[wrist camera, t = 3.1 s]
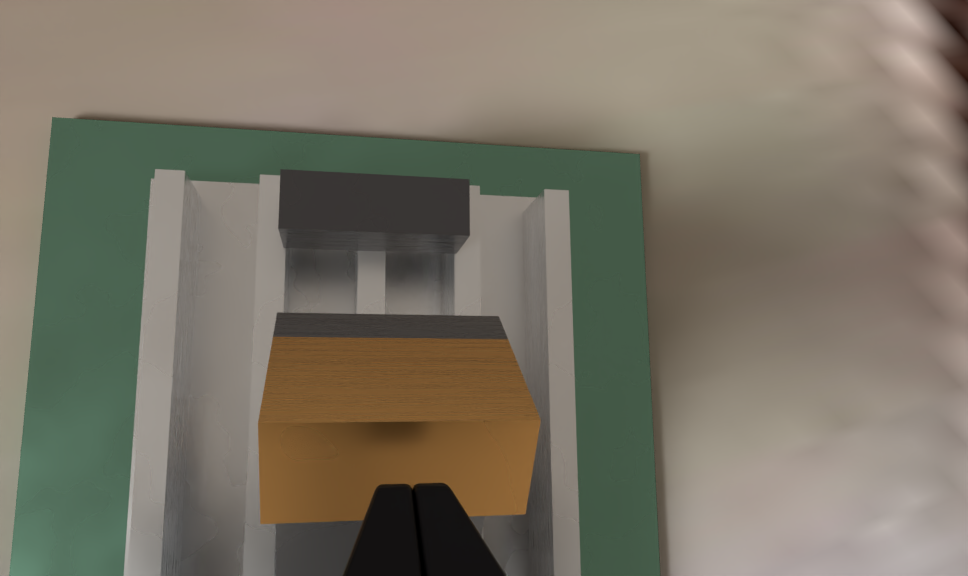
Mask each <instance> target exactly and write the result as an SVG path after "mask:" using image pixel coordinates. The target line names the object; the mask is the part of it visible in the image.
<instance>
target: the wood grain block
mask: <svg viewBox="0 0 968 576" xmlns="http://www.w3.org/2000/svg"><path fill="white" fill-rule="evenodd" d="M540 422H541V419H540V417H539V414H538V412H537V409H536V407H535V404H534V402H533V399H532V397H531V395H530V392H529V390H528V387H527V385H526V382H525V380H524V377H523V375H522V372H521V370H520V367H519V365H518V362H517V360H516V357H515V355H514V353H513V350H512V348H511V345H510V343H509V340H508V338H507V335H506V333H505V330H504V328H503V325H502V323H501V320H500V318H499V316H461V315H401V314H342V313H282V312H277V316H276V322H275V328H274V334H273V339H272V345H271V351H270V357H269V362H268V368H267V374H266V380H265V385H264V391H263V397H262V403H261V408H260V414H259V420H258V447H259V488H260V524H276V576H342V575H343V572H344V570H345V567H346V564H347V562H348V559H349V557H350V554H351V551H352V549H353V546H354V543H355V541H356V538H357V536H358V533H359V530H360V528H361V525H362V522H363V520H364V517H365V515H366V512H367V509H368V507H369V504H370V501H371V499H372V496H373V494H374V491H375V489H376V488H377V486H379V485H381V484H408V485H410V486H411V488H413V486H414V485H415V484H418V483H445V484H447V485H448V486H449V487H450V488H451V490H452V491H453V493H454V494H455V496H456V497H457V499H458V500H459V502H460V504H461V505H462V507H463V508H464V510H465V511H466V513H467V514H468V516H469V518H470V519H471V521H472V522H473V524H474V525H475V527H476V529H477V530H478V532H479V533H480V535H481V536H482V530H483V522H484V516H495V515H522V514H526V508H527V502H528V496H529V489H530V483H531V477H532V471H533V465H534V459H535V453H536V447H537V440H538V434H539V428H540Z"/></svg>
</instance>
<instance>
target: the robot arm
mask: <svg viewBox="0 0 968 576" xmlns="http://www.w3.org/2000/svg"><path fill="white" fill-rule="evenodd" d="M342 576H506V574H505V573H504V571H503V569H502V568H501V566H500V565H499V563H498V562H497V560H496V558H495V557H494V555H493V554H492V552H491V551H490V549H489V547H488V546H487V544H486V543H485V541H484V540H483V538H482V536H481V535H480V533H479V532H478V530H477V529H476V527H475V525H474V524H473V522H472V521H471V519H470V518H469V516H468V514H467V513H466V511H465V510H464V508H463V507H462V505H461V504H460V502H459V500H458V499H457V497H456V496H455V494H454V493H453V491H452V490H451V488H450V487H449V486H448V485H447V484H445V483H418V484H415V485H414V486H413V488H411V486H410V485H408V484H381V485H379V486H377V488H376V489H375V491H374V494H373V496H372V499H371V501H370V504H369V507H368V509H367V512H366V515H365V517H364V520H363V522H362V525H361V528H360V530H359V533H358V536H357V538H356V541H355V543H354V546H353V549H352V551H351V554H350V557H349V559H348V562H347V564H346V567H345V570H344V572H343V575H342Z"/></svg>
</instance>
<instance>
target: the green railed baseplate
mask: <svg viewBox="0 0 968 576" xmlns="http://www.w3.org/2000/svg"><path fill="white" fill-rule="evenodd" d="M277 312H282V313H342V314H401V315H461V316H499V318H500V320H501V323H502V325H503V328H504V330H505V333H506V335H507V338H508V340H509V343H510V345H511V348H512V350H513V353H514V355H515V357H516V360H517V362H518V365H519V367H520V370H521V372H522V375H523V377H524V380H525V382H526V385H527V387H528V390H529V392H530V395H531V397H532V399H533V402H534V404H535V407H536V409H537V412H538V414H539V417H540V419H541V422H540V428H539V434H538V440H537V447H536V453H535V459H534V465H533V471H532V477H531V483H530V489H529V496H528V502H527V508H526V514H522V515H495V516H484V522H483V530H482V538H483V540H484V541H485V543H486V544H487V546H488V547H489V549H490V551H491V552H492V554H493V555H494V557H495V558H496V560H497V562H498V563H499V565H500V566H501V568H502V569H503V571H504V573H505V574H506V576H660V562H659V541H658V521H657V500H656V480H655V459H654V439H653V418H652V398H651V378H650V357H649V337H648V316H647V296H646V275H645V255H644V234H643V214H642V193H641V173H640V154H629V153H613V152H597V151H581V150H565V149H549V148H534V147H518V146H502V145H486V144H470V143H454V142H438V141H422V140H406V139H390V138H374V137H358V136H342V135H326V134H310V133H294V132H279V131H263V130H247V129H231V128H215V127H199V126H183V125H167V124H151V123H135V122H119V121H103V120H87V119H71V118H55V117H52V128H51V138H50V149H49V159H48V170H47V181H46V191H45V202H44V213H43V223H42V234H41V244H40V255H39V266H38V276H37V287H36V298H35V308H34V319H33V329H32V340H31V351H30V361H29V372H28V383H27V393H26V404H25V414H24V425H23V436H22V446H21V457H20V468H19V478H18V489H17V499H16V510H15V521H14V531H13V542H12V553H11V563H10V574H9V576H276V524H260V488H259V447H258V420H259V414H260V408H261V403H262V397H263V391H264V385H265V380H266V374H267V368H268V362H269V357H270V351H271V345H272V339H273V334H274V328H275V322H276V316H277Z"/></svg>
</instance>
